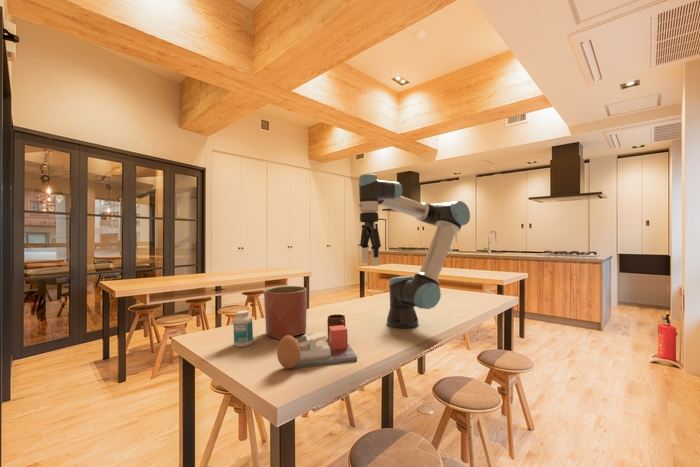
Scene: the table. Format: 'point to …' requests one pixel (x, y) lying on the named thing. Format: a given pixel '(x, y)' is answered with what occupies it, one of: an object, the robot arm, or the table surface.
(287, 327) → the planter
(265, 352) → the table surface
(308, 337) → the rocker
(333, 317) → the mug
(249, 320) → the pill bottle
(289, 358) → the egg
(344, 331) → the red block
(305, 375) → the table surface
